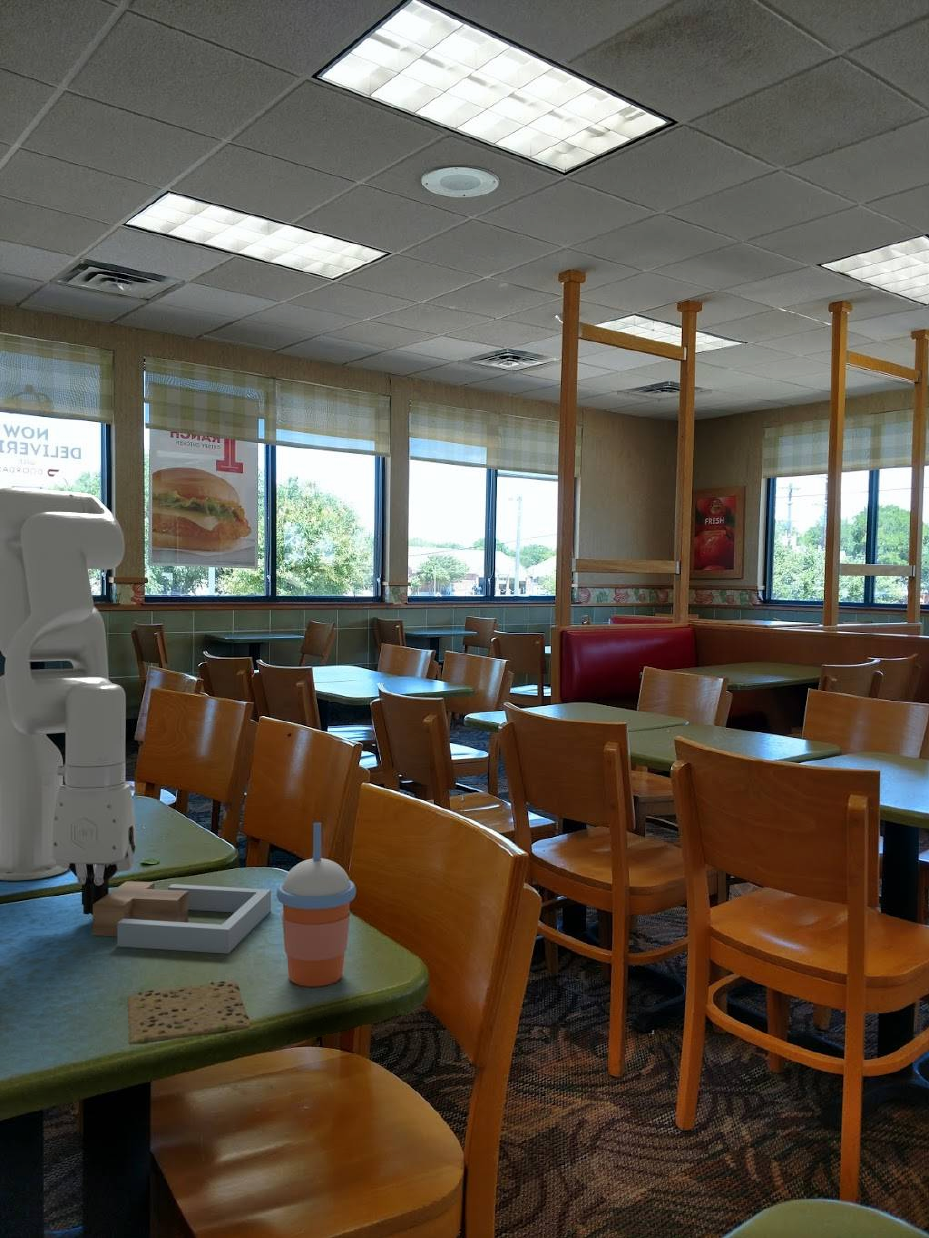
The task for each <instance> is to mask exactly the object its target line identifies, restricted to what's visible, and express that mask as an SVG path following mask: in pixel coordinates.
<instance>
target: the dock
mask: <svg viewBox="0 0 929 1238" xmlns="http://www.w3.org/2000/svg"><path fill="white" fill-rule="evenodd" d="M167 890H181V891H188V911H189V910H190V911H203V912H222V913H233V914H232V915H231V916H230V917H228V918H227V919H226V920H225V921H224V922H223V923H222V924H215V923H200V922H199V923H198V922H169V921H153V920H137V919H122V920H121V921H119V922H118V936H117V942H116V943H117V945H116V947H120V948H121V947H123V948H137V949H150V950H151V949H153V950H168V951H182V952H184V951H185V952H196V953H198V952H200V953H211V954H213V953H214V954H225V955H226V954H227V955H228V954H230V953H231V952H232V951H233V950H234V949H235V948H236V947H237V946H238V945H239V944H240V943H241V942H242V941H243V940H244V939H245V938H246V937H247V936H248V935H249V934H250V933H251V932H252V931H253V929H255V928H256V927H257V926H258V925H259V924H260V923H261V922H262V921H263V919H265V918H266V916H267V915H269V913H271V912H272V889H267V888H266V889H265V888H251V887H250V888H248V887H234V886H232V887H231V886H230V887H229V886H214V885H212V886H211V885H198V884H197V885H196V884H195V885H194V884H178V883H171V885H169V886H168V887H167Z"/></svg>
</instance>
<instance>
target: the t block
mask: <svg viewBox="0 0 929 1238" xmlns="http://www.w3.org/2000/svg"><path fill="white" fill-rule="evenodd" d="M122 919H137V920H153V921H169V922H185V923H188V921H189V910H188V891H181V890H168V889H155V882H152V881H133V880H132V881H131V880H130V881H128V880H127V881H125V882H124V883H122V884H120V885H119V886H118V887H116V888H115V889H113V890H112V891H110V892H109V894H107V895H106V896H105V897H103V898H102V899H100V900H99V901H97V902H96V903H94V904H93V915H92V936H100V937H101V936H103V937H118V922H119V921H121V920H122Z"/></svg>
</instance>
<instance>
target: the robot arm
mask: <svg viewBox="0 0 929 1238" xmlns="http://www.w3.org/2000/svg"><path fill="white" fill-rule="evenodd" d="M121 527H122V526H121V525H120V523H119V520H118V519H117V518H116V517H115V515H114V514H113V513H112V512H111V511H110V510H109V509H108V508H107V507H106V506H105V504H103V503H102V502H101V500H100V499H98V498H97V497H96V496H95V495H92V494H90V493H86V492H85V493H84V492H78V491H77V492H76V491H64V490H63V491H62V490H50V489H42V488H41V489H40V488H29V487H28V488H27V487H25V488H24V487H5V488H0V653H1V655H2V656H3V657H4V658H5V661H4V674H3V675H1V676H0V881H16V882H17V881H31V880H38V879H43V878H49V877H50V878H51V877H53V876H56V875H61V874H63V873H65V872H67V871H69V870H70V871H71V872H72V874H74V876H75V877H76V878H77V883H78V884H79V885H81V905H82V907H83V909H82V911H83V915H90V914H91V915H92V916H93V904H94V903H96V902H97V901H99V900H100V899H102V898H103V897H105V896H106V895H107V894H109V893H110V892H109V891H110V890H109V888H110V887H109V881H110V880H112V879H113V877H114V876H115V875H116V874H117V873H121V872H126V871H130V870H131V869H133V868H134V867H135V866H136V863H135V858H134V857H135V856H134V855H135V852H136V848H137V824H136V813H135V806H134V805H135V804H134V800H133V795H132V794H133V793H132V791H131V787H130V784H126V731H127V729H126V722H127V721H126V719H127V717H126V716H127V715H126V713H127V712H126V710H127V709H126V708H127V703H126V702H127V701H126V700H127V699H126V697H127V696H126V691H125V689H124V688H123V687H122V686H121V685H119V684H116V683H112V682H111V680H109V679H110V677H109V664H108V663H109V662H108V652H107V650H108V649H107V636H106V627H105V622H104V620H103V617H102V615H101V613H100V611H99V610H98V608H97V607H95V605H94V598H93V594H92V593H93V592H92V587H91V581H90V576H89V570H113V569H116V568H118V566H119V565H121V563H122V561H123V559H124V557H125V549H126V548H125V547H126V546H125V544H126V543H125V538H124V537H125V536H124V532H123V530H122V528H121ZM58 661H59V662H60V661H62V662H63V661H64V662H65V661H68V662H70V663H71V664H72V666H73V668H59V669H58V668H57V669H56V668H55V669H54V668H49V669H48V668H47V669H45V668H43V669H31V665H30V662H58ZM60 733H65V752H64V753H65V755H64V756H65V757H64V758H65V761H64V762H65V763H64V762H63V760H64V759H63V756H62V755H63V754H62V753H61V751H60V750H59V748H58V746H57V745H56V744H55V743H54V742H53V741H52V740H51V739H50V738H49V737H48V736H47V735H48V734H60ZM63 778H64V779H63ZM64 783H65V784H64Z"/></svg>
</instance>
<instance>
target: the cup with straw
mask: <svg viewBox="0 0 929 1238" xmlns="http://www.w3.org/2000/svg"><path fill="white" fill-rule="evenodd" d="M312 836H313V837H312V838H313V841H312V842H313V843H312V849H313V851H312V858H309V859H305V860H303V861H301V862H299V863H297V864H296V865H294V866H293V867H292V868H291V869H290V870H289V872H288V873H287V874H286V875H285V878H284V881H282V882H281V883H280V884H279V885H278V887H277V889H276V898H277V900H278V901H279V903H280V904H281V905H282V911H283V912H282V914H281V919H282V932H283V942H284V943H283V944H284V952H285V954H286V958H287V959H286V960H287V961H286V962H287V969H288V970H287V971H288V979H289V980H290V981H291V982H292V983H293V984H295V985H298V986H302V987H307V988H311V987H312V988H314V987H315V988H318V987H324V986H329V985H332V984H334V983H336V982H338V981H339V980H340V979H341V978H342V976H343V971H344V963H345V962H344V961H345V952H346V951H347V949H348V948H347V947H348V937H349V929H350V928H349V927H350V921H351V920H350V918H351V910H350V905H351V904H350V903H351V902H352V901H353V900H354V898H355V897H356V894H357V890H356V889H357V888H356V886H355V883H354V882H353V881H352V880H351V879H350V878H349V876H348V874H347V872H346V870H345V869H344V868H343V867H342V866H341V865H340V864H338V863H337V862H335V861H333V860H331V859H326V858H322V854H321V853H322V823H321V822H313V835H312Z"/></svg>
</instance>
